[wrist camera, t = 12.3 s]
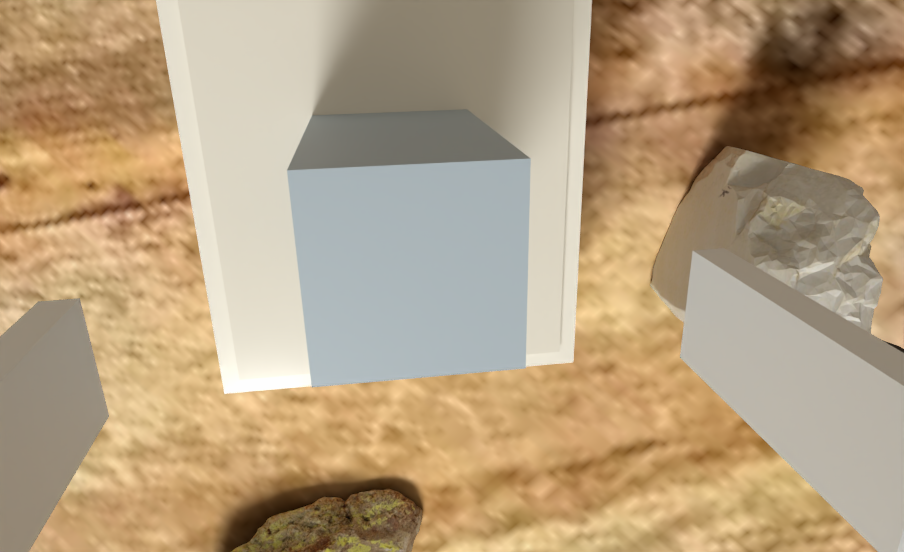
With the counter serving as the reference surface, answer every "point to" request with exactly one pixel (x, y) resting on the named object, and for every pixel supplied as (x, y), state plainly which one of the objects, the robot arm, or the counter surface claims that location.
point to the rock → (342, 526)
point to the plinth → (353, 92)
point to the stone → (776, 232)
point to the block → (410, 246)
